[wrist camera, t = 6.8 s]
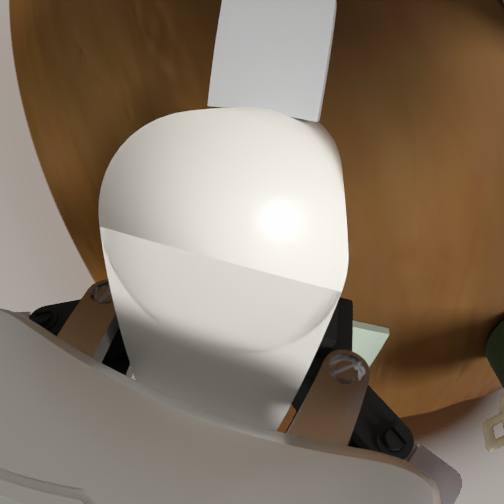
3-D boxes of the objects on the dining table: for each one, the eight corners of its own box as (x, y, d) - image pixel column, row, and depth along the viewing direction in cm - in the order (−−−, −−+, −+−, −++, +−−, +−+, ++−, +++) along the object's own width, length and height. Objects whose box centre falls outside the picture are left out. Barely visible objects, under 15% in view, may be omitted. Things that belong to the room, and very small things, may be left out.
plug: (367, 40, 6) (409, -46, 1) (283, 370, 14) (253, 470, 9) (233, 22, 7) (116, -40, 2) (206, 347, 15) (157, 436, 10)
